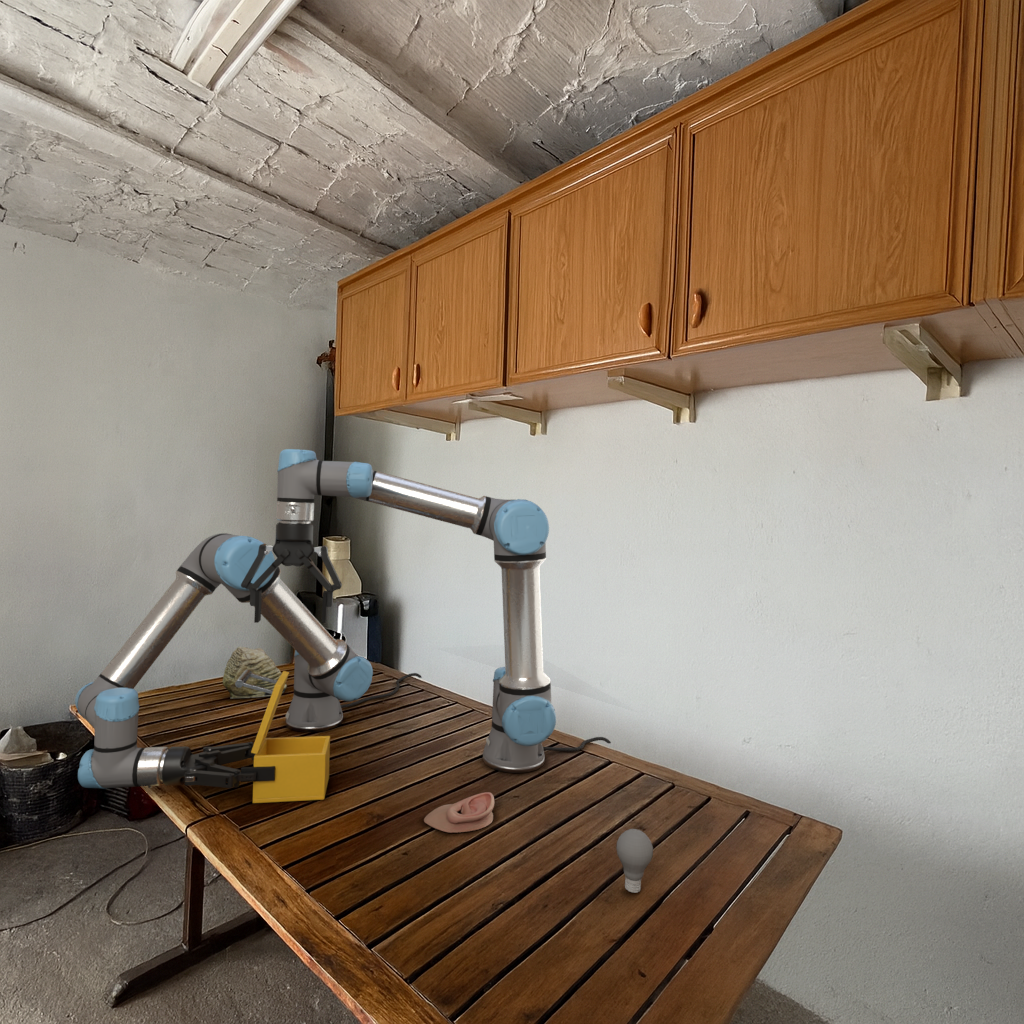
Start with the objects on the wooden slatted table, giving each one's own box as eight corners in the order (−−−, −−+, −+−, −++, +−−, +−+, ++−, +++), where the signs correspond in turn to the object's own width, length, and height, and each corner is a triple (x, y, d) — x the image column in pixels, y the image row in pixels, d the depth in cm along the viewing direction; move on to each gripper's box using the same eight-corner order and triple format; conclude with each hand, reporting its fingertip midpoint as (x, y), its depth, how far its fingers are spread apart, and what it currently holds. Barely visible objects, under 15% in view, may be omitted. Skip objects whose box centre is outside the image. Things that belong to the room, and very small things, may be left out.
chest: (328, 778, 142) (330, 735, 142) (324, 799, 132) (325, 754, 132) (262, 781, 140) (263, 738, 139) (252, 803, 130) (253, 756, 130)
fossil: (218, 695, 195) (220, 647, 195) (278, 685, 208) (279, 640, 207) (228, 703, 189) (230, 653, 188) (289, 692, 201) (290, 645, 201)
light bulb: (610, 879, 108) (613, 822, 108) (644, 879, 109) (647, 822, 109) (619, 902, 102) (622, 840, 102) (655, 901, 103) (658, 840, 103)
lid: (289, 672, 140) (248, 660, 138) (281, 686, 130) (237, 673, 128) (266, 735, 140) (225, 724, 138) (257, 754, 130) (212, 742, 128)
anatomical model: (419, 808, 122) (437, 782, 134) (418, 828, 122) (437, 801, 134) (485, 817, 120) (499, 791, 131) (484, 838, 120) (498, 810, 131)
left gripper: (183, 761, 142) (287, 758, 147) (145, 810, 120) (268, 805, 124) (184, 728, 142) (288, 726, 146) (146, 771, 120) (269, 767, 124)
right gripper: (228, 520, 129) (224, 624, 129) (354, 525, 133) (350, 625, 134) (236, 519, 136) (233, 617, 136) (356, 523, 141) (352, 618, 141)
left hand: (279, 762), depth 135 cm, fingers closed on chest, 10 cm apart
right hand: (291, 621), depth 135 cm, fingers open, 13 cm apart
